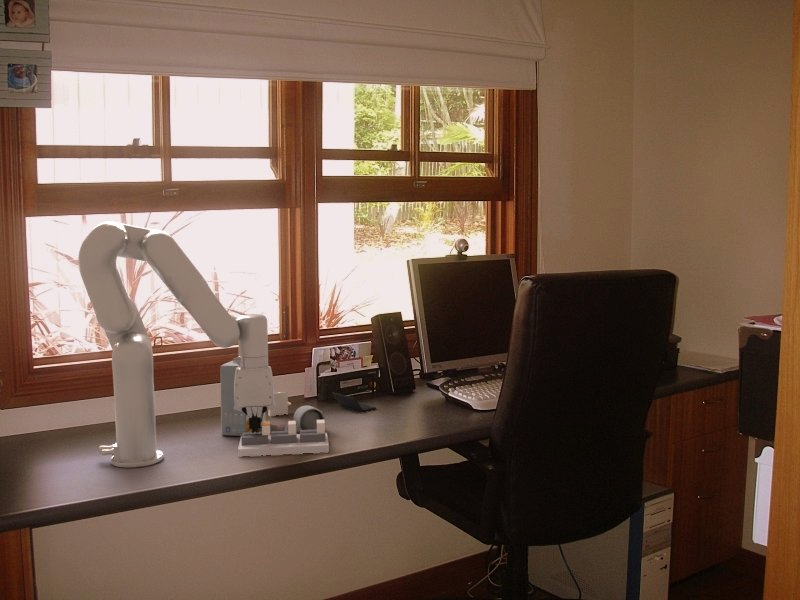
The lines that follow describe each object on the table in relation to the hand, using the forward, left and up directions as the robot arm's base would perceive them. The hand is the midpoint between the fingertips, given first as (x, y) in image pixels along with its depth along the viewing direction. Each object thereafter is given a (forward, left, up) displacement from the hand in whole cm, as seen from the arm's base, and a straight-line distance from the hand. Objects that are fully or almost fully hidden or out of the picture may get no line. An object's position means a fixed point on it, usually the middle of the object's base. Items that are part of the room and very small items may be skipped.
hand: (255, 431), depth 212 cm
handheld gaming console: (+29, +40, -5) cm, 50 cm away
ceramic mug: (+13, +14, -5) cm, 20 cm away
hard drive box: (-4, +21, -5) cm, 22 cm away
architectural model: (+5, +37, -6) cm, 38 cm away
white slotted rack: (+7, 0, -5) cm, 9 cm away
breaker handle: (+3, 0, -1) cm, 3 cm away
